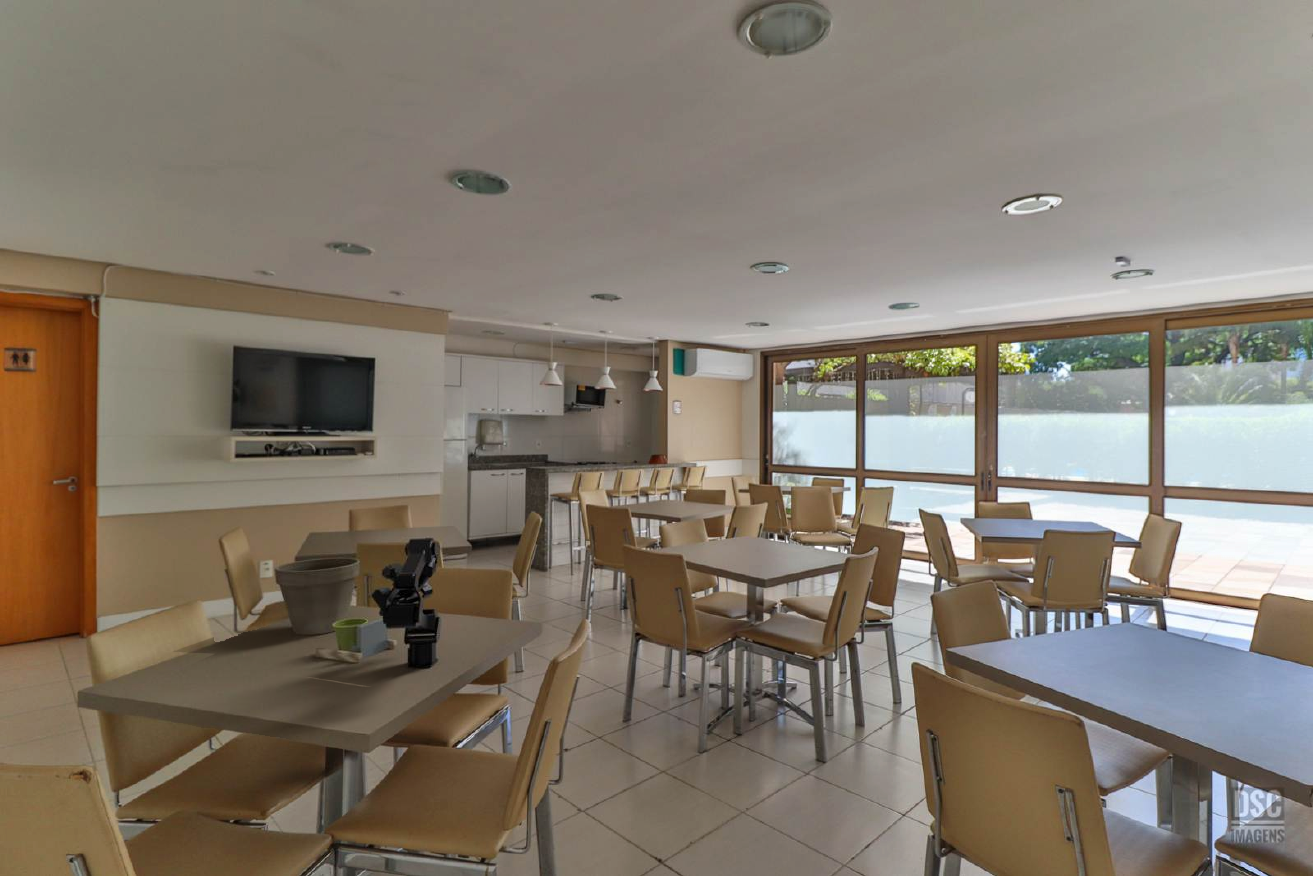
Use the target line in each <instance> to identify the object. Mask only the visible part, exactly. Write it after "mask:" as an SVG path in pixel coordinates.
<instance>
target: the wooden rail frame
mask: <svg viewBox="0 0 1313 876" xmlns="http://www.w3.org/2000/svg"><path fill="white" fill-rule="evenodd" d="M388 649H391V650H395V649H398V640H397V639H390V638H389V639H388ZM315 657H316V658H321V659H322V658H323V659H329V660H337V661H343V662H352V663H362V662H363V659H362V653H356V652H349V651H342V650H339V649H334V648H326V647H316V648H315Z"/></svg>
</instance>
